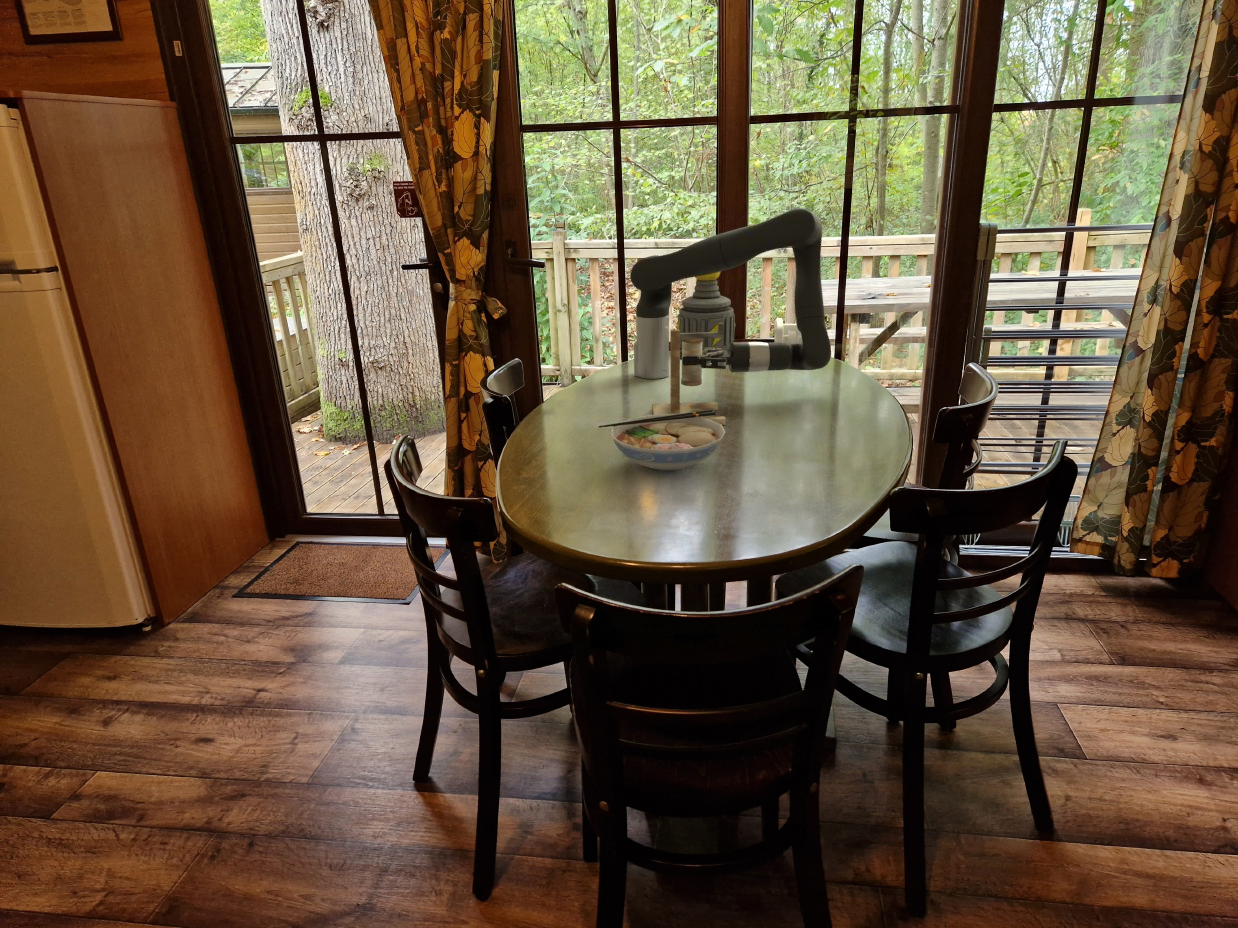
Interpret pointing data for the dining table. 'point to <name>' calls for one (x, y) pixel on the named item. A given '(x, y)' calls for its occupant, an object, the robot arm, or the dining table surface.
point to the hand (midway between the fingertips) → (681, 358)
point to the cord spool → (693, 372)
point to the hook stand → (675, 378)
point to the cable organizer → (786, 332)
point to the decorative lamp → (707, 313)
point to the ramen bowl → (668, 439)
